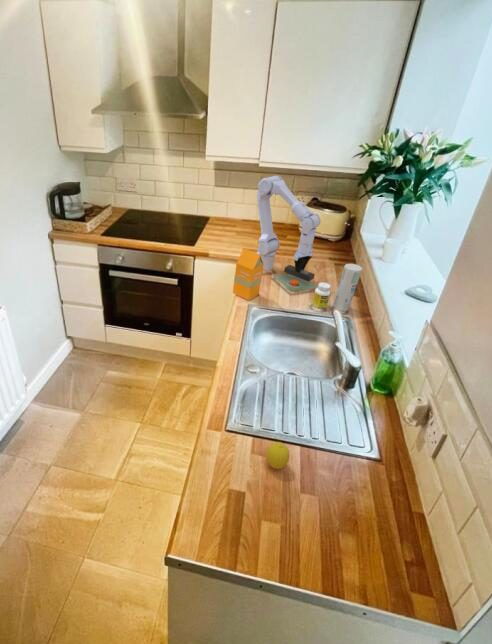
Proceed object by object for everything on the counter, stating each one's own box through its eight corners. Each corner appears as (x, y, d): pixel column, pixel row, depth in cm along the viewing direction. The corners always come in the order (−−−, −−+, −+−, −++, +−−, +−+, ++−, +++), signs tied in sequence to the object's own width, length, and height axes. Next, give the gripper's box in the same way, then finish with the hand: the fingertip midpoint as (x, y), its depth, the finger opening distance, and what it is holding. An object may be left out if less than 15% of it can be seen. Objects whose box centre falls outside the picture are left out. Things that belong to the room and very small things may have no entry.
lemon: (261, 457, 104) (266, 436, 99) (282, 456, 104) (288, 435, 100) (267, 475, 99) (272, 455, 95) (288, 474, 99) (295, 454, 95)
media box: (271, 278, 189) (272, 272, 187) (297, 275, 194) (298, 268, 192) (290, 295, 177) (291, 288, 175) (317, 291, 181) (319, 284, 179)
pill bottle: (318, 313, 165) (324, 289, 159) (307, 306, 169) (313, 283, 163) (328, 310, 167) (335, 286, 161) (318, 303, 172) (324, 280, 166)
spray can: (344, 316, 164) (358, 272, 153) (329, 310, 167) (342, 266, 156) (350, 310, 168) (364, 267, 157) (335, 304, 171) (348, 262, 160)
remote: (283, 272, 186) (284, 266, 185) (288, 269, 189) (289, 264, 187) (309, 281, 179) (310, 276, 177) (313, 278, 181) (315, 273, 180)
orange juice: (243, 287, 181) (249, 246, 170) (258, 294, 176) (266, 252, 165) (232, 292, 176) (237, 250, 165) (248, 300, 171) (255, 257, 160)
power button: (288, 283, 179) (289, 279, 178) (295, 282, 180) (295, 278, 179) (292, 287, 176) (293, 283, 175) (299, 286, 178) (300, 282, 177)
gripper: (306, 249, 168) (299, 278, 176) (322, 240, 177) (315, 268, 185) (291, 244, 172) (285, 272, 180) (307, 236, 181) (301, 263, 189)
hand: (299, 270), depth 182 cm, fingers closed on remote, 3 cm apart
